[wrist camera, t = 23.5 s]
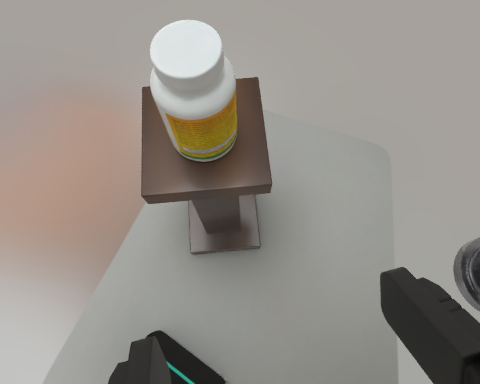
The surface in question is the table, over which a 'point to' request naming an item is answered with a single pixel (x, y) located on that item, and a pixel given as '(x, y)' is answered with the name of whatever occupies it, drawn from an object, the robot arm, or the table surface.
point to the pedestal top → (210, 172)
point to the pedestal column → (223, 224)
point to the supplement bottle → (194, 89)
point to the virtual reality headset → (184, 363)
